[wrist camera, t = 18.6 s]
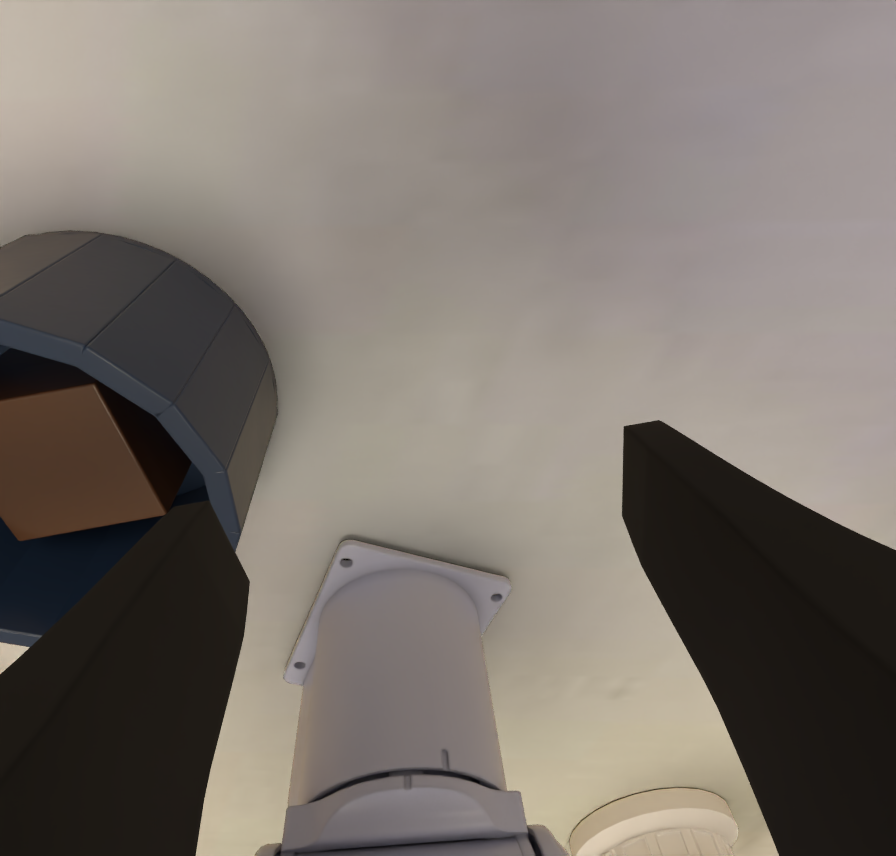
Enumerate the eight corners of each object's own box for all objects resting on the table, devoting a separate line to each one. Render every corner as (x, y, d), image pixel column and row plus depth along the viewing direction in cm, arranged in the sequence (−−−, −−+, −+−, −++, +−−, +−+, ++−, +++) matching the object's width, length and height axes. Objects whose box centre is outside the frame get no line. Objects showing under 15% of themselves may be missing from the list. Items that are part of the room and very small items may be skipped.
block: (207, 433, 20) (167, 516, 17) (84, 455, 20) (18, 542, 17) (154, 317, 18) (94, 383, 14) (15, 342, 18) (-80, 414, 14)
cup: (240, 529, 23) (195, 675, 18) (-52, 460, 21) (-215, 608, 15) (313, 302, 19) (282, 404, 13) (-54, 172, 16) (-292, 232, 10)
